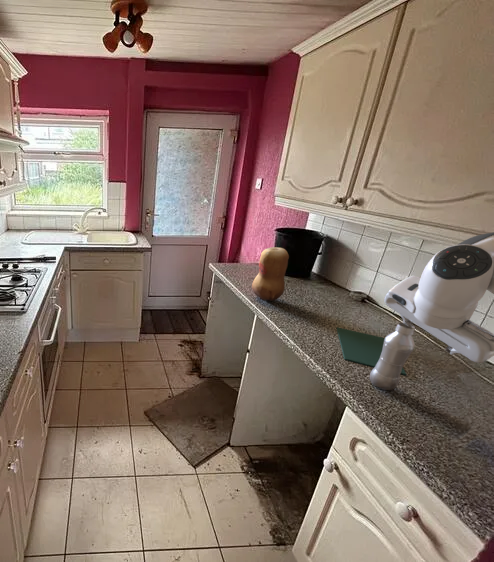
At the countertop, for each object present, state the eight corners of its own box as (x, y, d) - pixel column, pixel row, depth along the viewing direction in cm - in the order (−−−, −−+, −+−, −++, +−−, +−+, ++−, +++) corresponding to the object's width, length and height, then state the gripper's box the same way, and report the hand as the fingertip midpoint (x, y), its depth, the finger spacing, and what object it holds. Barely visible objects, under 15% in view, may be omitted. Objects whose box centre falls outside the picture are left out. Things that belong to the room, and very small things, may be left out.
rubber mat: (406, 375, 96) (406, 374, 96) (344, 359, 103) (344, 358, 102) (387, 339, 116) (387, 338, 115) (336, 328, 122) (336, 327, 122)
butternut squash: (244, 294, 151) (254, 244, 142) (269, 293, 154) (280, 243, 145) (261, 306, 139) (273, 252, 129) (288, 305, 141) (301, 252, 132)
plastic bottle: (362, 382, 92) (386, 322, 85) (374, 375, 95) (398, 318, 88) (388, 396, 87) (415, 334, 80) (399, 389, 90) (427, 328, 83)
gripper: (520, 333, 57) (495, 362, 66) (405, 270, 72) (397, 301, 81) (489, 352, 57) (468, 379, 66) (381, 286, 72) (376, 315, 81)
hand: (428, 336), depth 74 cm, fingers open, 8 cm apart
